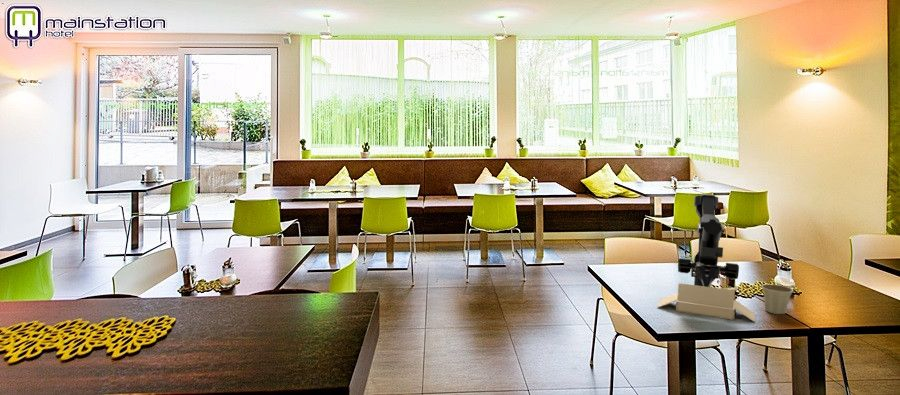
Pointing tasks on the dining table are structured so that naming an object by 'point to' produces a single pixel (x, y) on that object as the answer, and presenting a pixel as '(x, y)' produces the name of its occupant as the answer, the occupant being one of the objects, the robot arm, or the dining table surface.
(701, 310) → the carton
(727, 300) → the flap
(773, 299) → the flower pot
